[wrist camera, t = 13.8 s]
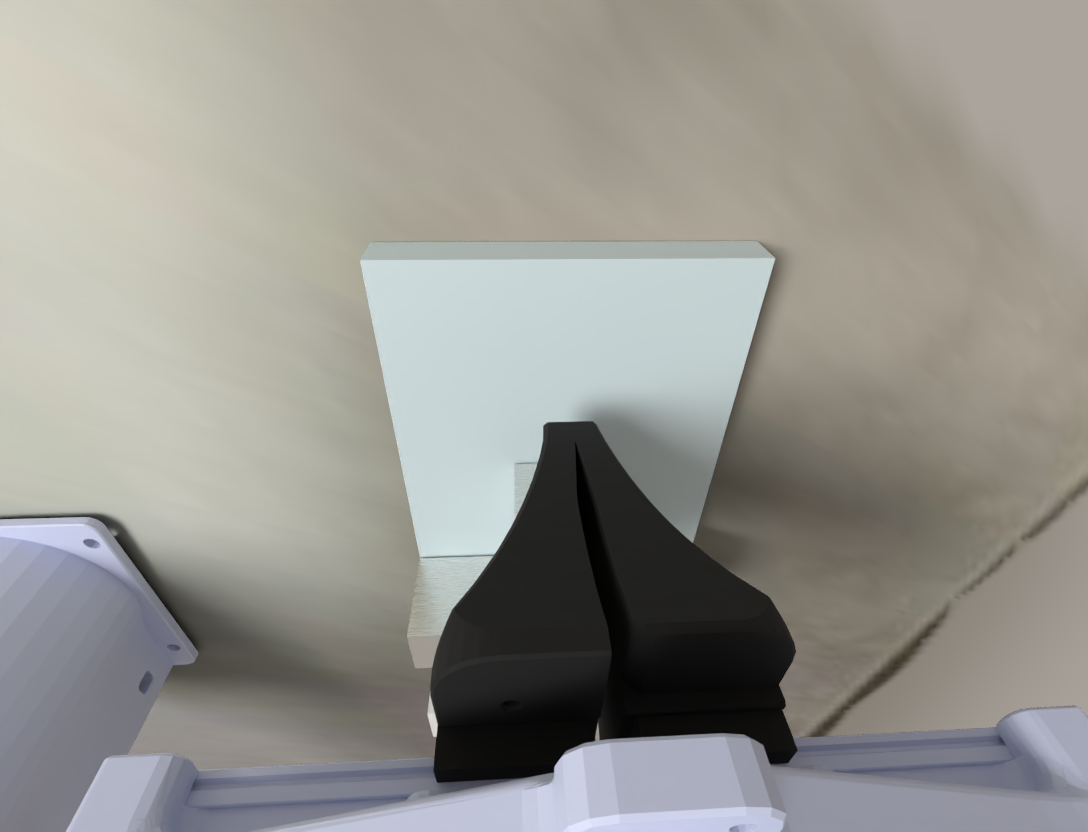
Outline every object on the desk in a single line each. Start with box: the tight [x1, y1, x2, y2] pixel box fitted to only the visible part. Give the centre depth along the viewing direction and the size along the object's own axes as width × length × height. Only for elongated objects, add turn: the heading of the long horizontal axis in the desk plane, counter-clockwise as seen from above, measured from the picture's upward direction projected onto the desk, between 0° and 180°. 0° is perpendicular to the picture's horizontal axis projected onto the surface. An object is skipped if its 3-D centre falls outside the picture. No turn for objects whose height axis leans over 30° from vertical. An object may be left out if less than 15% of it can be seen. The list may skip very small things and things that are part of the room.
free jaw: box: [407, 464, 537, 668], centre depth 17 cm, size 6×10×5 cm, turn 89°
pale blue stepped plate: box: [360, 241, 775, 737], centre depth 18 cm, size 19×10×4 cm, turn 179°
